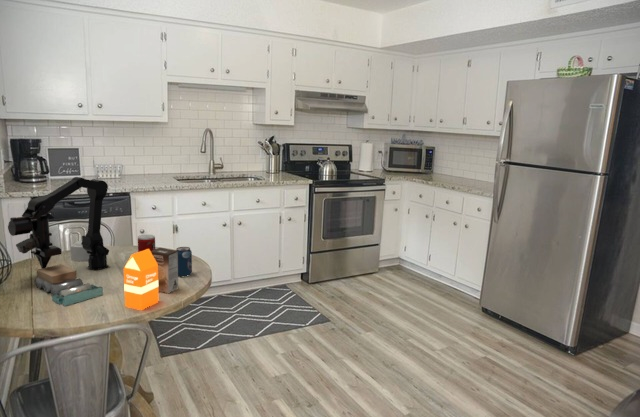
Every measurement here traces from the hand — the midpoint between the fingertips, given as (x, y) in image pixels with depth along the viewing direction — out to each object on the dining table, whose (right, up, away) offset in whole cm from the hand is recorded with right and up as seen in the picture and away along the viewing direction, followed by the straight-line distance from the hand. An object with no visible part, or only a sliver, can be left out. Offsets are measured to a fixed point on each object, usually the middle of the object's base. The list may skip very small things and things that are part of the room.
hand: (43, 268), depth 176 cm
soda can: (+52, -5, +16) cm, 54 cm away
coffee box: (+49, -8, -2) cm, 50 cm away
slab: (+9, -3, -5) cm, 11 cm away
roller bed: (+14, -8, -8) cm, 18 cm away
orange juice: (+46, -11, -16) cm, 51 cm away
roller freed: (+20, -9, -12) cm, 25 cm away
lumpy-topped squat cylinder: (0, 0, +33) cm, 33 cm away
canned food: (+27, 0, +36) cm, 45 cm away
